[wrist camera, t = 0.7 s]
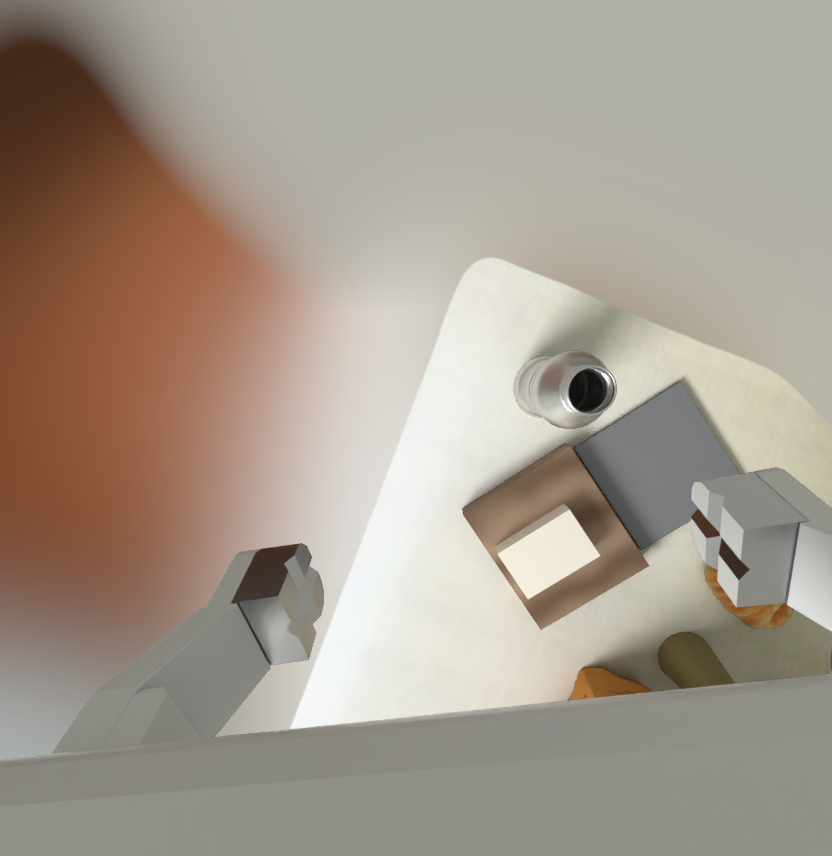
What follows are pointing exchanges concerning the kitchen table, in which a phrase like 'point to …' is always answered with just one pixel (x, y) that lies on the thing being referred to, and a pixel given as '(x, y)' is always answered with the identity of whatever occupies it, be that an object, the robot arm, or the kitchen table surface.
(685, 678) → the cork
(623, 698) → the robot arm
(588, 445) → the mat
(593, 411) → the plastic bottle
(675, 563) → the kitchen table surface
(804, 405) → the kitchen table surface
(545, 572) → the tile
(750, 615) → the pastry
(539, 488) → the stand
